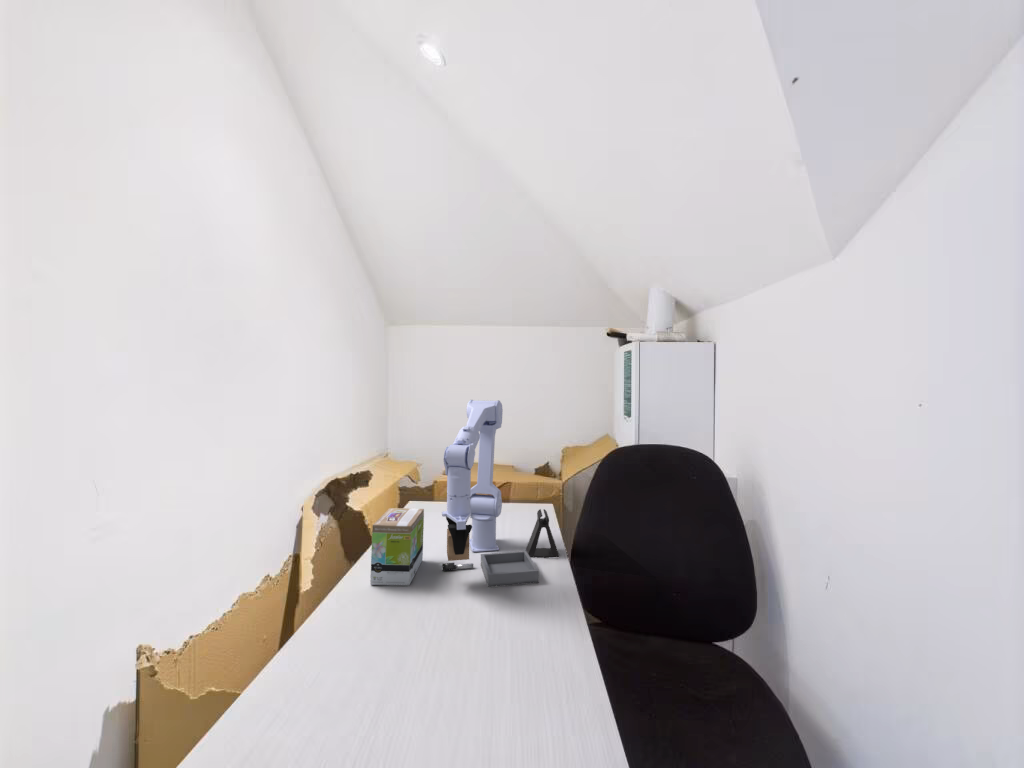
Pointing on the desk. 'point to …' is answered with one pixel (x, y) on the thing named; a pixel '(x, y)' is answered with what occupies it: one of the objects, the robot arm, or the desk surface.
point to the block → (450, 549)
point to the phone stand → (534, 538)
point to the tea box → (397, 546)
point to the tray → (509, 569)
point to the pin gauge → (456, 566)
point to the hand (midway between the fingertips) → (458, 549)
